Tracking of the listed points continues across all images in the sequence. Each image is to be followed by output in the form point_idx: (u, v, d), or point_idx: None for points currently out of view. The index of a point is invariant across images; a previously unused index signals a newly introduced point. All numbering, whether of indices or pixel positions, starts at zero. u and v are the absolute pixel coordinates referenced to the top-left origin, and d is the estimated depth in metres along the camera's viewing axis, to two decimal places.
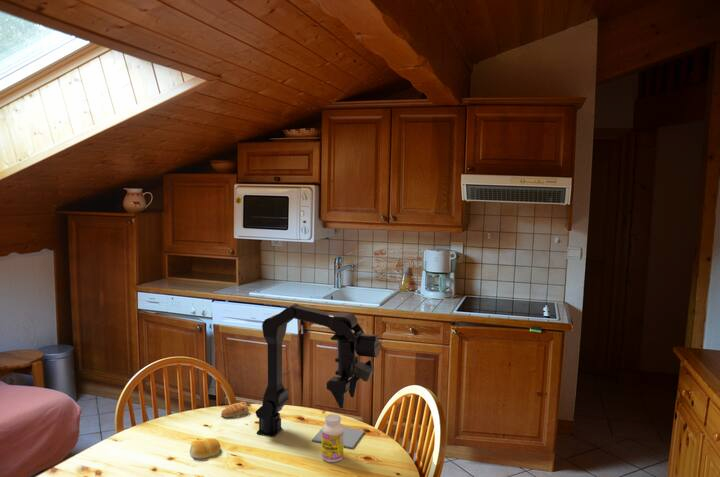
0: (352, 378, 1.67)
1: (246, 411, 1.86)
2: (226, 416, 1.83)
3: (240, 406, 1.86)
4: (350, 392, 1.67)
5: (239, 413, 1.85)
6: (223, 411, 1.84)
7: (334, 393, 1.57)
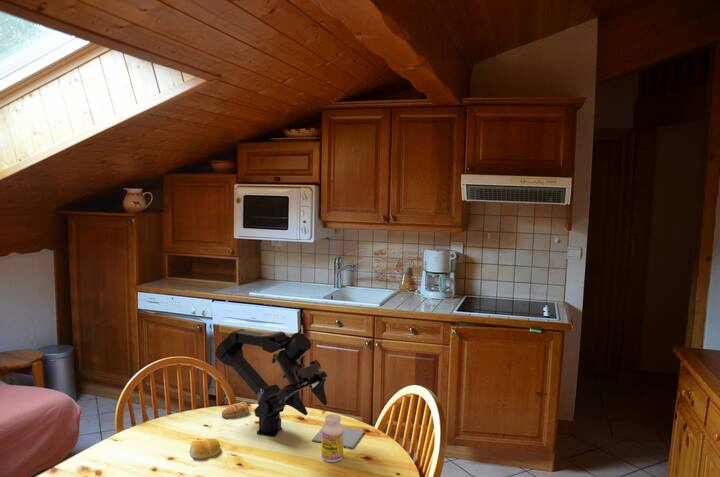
0: (317, 388, 1.67)
1: (247, 411, 1.86)
2: (227, 416, 1.83)
3: (240, 406, 1.86)
4: (322, 401, 1.65)
5: (240, 413, 1.84)
6: (224, 411, 1.84)
7: (291, 404, 1.58)
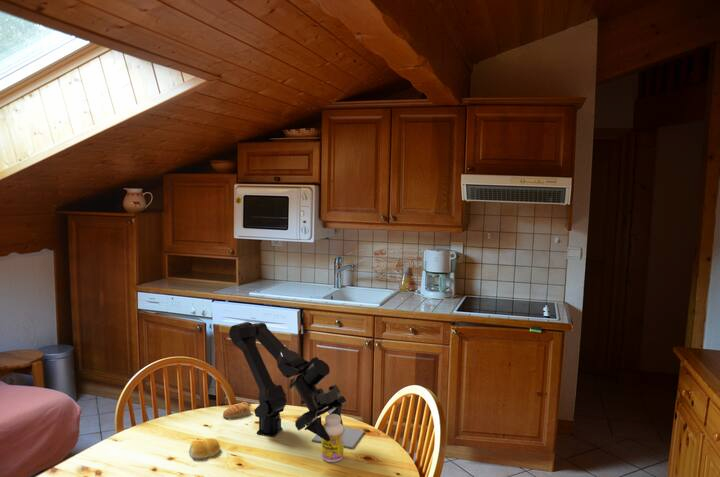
0: None
1: (248, 411, 1.86)
2: (228, 417, 1.83)
3: (242, 406, 1.86)
4: None
5: (241, 413, 1.84)
6: (225, 412, 1.84)
7: (313, 430, 1.55)
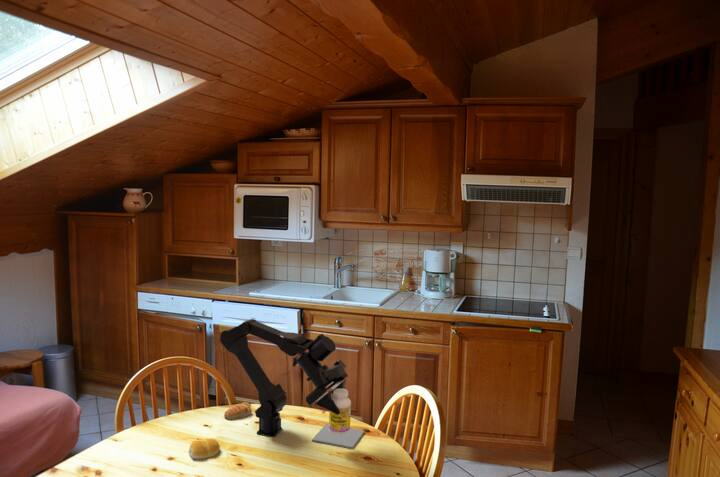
0: None
1: (249, 412, 1.86)
2: (229, 417, 1.82)
3: (243, 407, 1.86)
4: None
5: (242, 414, 1.84)
6: (226, 412, 1.83)
7: (322, 405, 1.58)
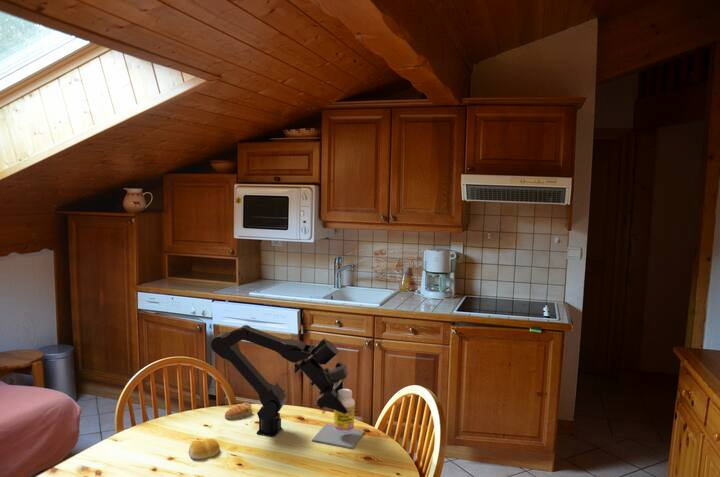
0: None
1: (250, 412, 1.86)
2: (230, 417, 1.82)
3: (244, 407, 1.85)
4: None
5: (243, 414, 1.84)
6: (227, 413, 1.83)
7: (331, 406, 1.65)
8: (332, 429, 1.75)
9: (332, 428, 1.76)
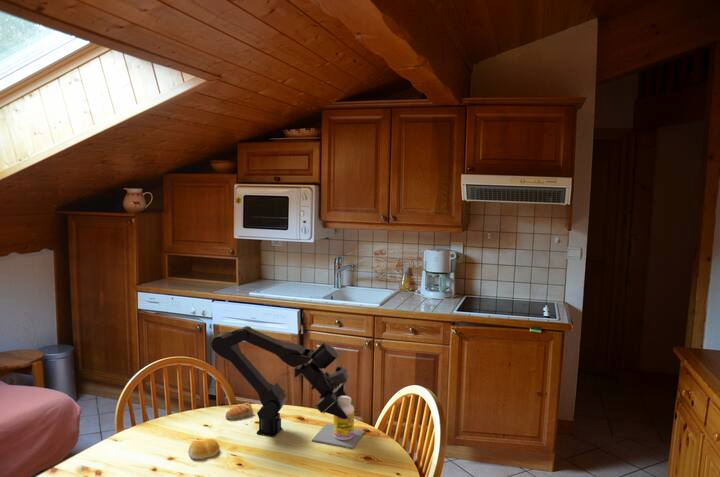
0: (339, 392, 1.75)
1: (250, 412, 1.86)
2: (231, 418, 1.82)
3: (244, 407, 1.85)
4: None
5: (244, 414, 1.84)
6: (227, 413, 1.83)
7: (331, 412, 1.64)
8: (332, 429, 1.75)
9: (332, 428, 1.76)
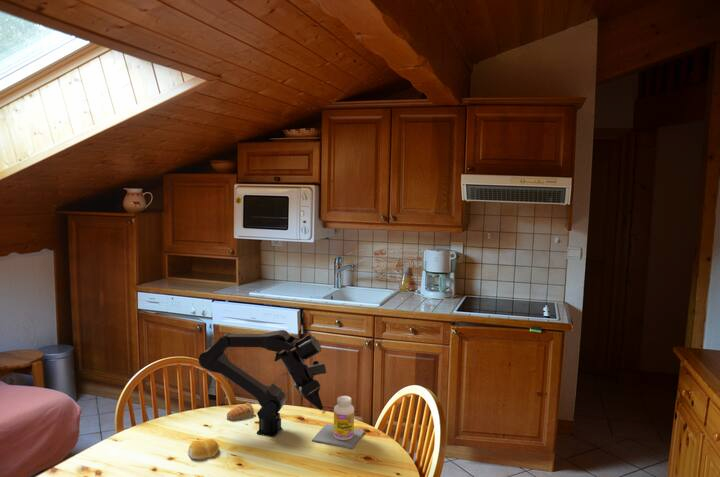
0: None
1: (252, 412, 1.85)
2: (232, 418, 1.82)
3: (246, 408, 1.85)
4: None
5: (245, 415, 1.83)
6: (229, 413, 1.83)
7: (310, 399, 1.64)
8: (332, 429, 1.75)
9: (332, 428, 1.76)
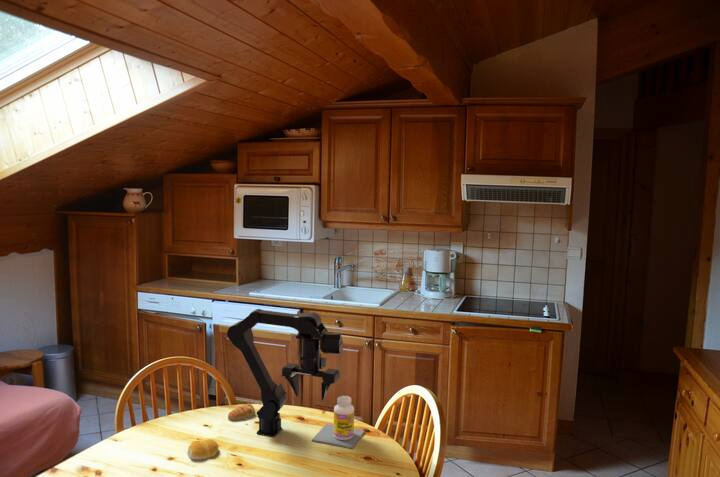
0: (296, 378, 1.71)
1: (253, 413, 1.85)
2: (233, 419, 1.81)
3: (247, 408, 1.84)
4: (297, 392, 1.71)
5: (246, 415, 1.83)
6: (230, 414, 1.82)
7: (326, 387, 1.66)
8: (332, 429, 1.75)
9: (332, 428, 1.76)
